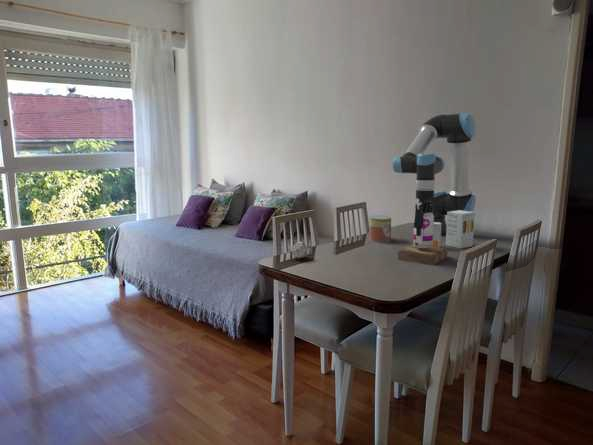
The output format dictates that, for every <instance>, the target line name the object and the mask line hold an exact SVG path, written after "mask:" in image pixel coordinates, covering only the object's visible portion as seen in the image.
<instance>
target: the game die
mask: <svg viewBox="0 0 593 445" xmlns="http://www.w3.org/2000/svg"><path fill="white" fill-rule="evenodd" d="M292 243H293V245H292V246H291V247H292V248H291V251H290V252H289V254H292V255H293V256H294V257H295V258H297V260H298V261H300V259H302V258H305V259H307V255H309V254H308V251H309V249H310V248H311V246H307V245H306V243H305V242H303V241H302V239H300V241H298V242H295V241H292Z"/></svg>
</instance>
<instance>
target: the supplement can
mask: <svg viewBox="0 0 593 445" xmlns="http://www.w3.org/2000/svg"><path fill="white" fill-rule="evenodd" d="M413 218H414V219H415V214H414V215H413ZM414 219H413V220H414ZM422 228H423V241H422V243H416V228H414V227H413V244H414V245H415V246H416V247H419V248H429V247H431V246H433V228H434V215H433V213H432V212H426V214H424V216H423V225H422ZM413 244H412V245H413Z"/></svg>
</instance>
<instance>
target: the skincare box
mask: <svg viewBox="0 0 593 445" xmlns="http://www.w3.org/2000/svg"><path fill="white" fill-rule="evenodd" d="M441 225H442V223H438V222H434V228H433V247H440V248H441V239H442V235H441Z"/></svg>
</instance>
